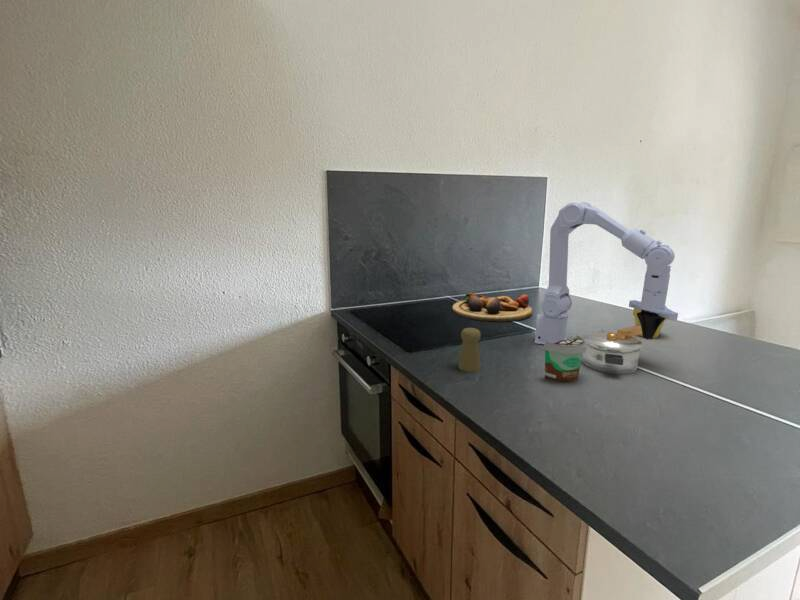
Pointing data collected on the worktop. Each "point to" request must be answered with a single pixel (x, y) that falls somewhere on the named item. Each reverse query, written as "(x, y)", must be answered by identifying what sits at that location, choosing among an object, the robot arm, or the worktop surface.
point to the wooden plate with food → (493, 308)
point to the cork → (470, 350)
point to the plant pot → (637, 323)
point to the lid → (615, 340)
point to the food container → (564, 359)
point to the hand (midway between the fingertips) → (647, 338)
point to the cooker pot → (610, 360)
